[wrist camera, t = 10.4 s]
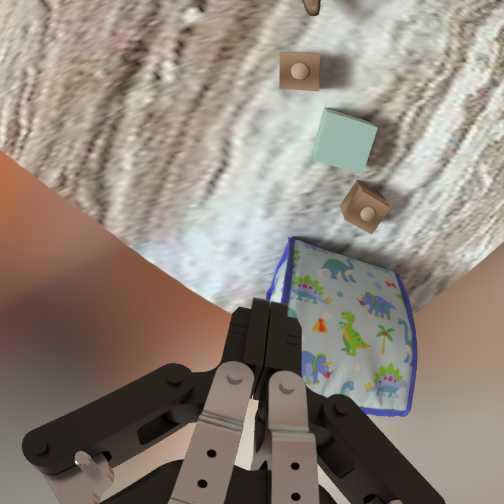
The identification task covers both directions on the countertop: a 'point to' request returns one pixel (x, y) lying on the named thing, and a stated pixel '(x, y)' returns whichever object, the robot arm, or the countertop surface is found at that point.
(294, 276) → the lunch bag
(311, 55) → the dotted cube
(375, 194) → the dotted cube
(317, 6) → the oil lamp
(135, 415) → the robot arm
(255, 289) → the countertop surface
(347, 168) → the plain block
